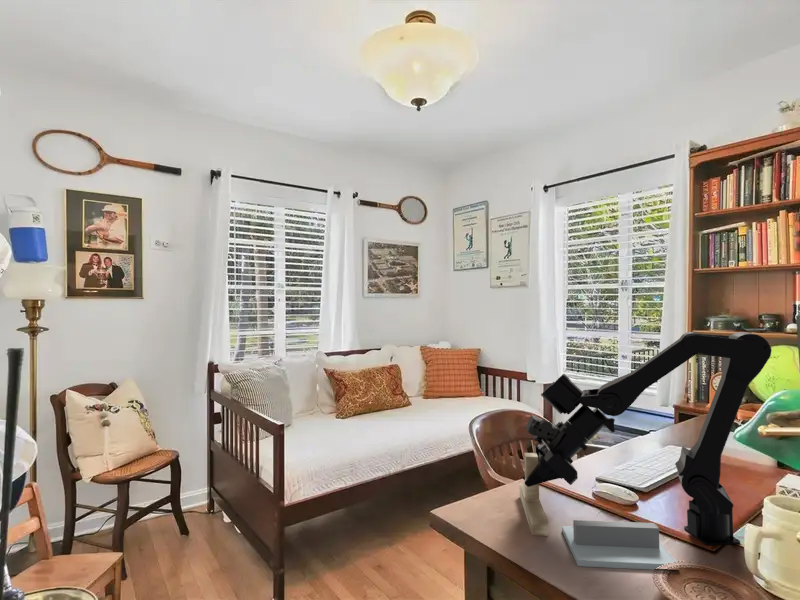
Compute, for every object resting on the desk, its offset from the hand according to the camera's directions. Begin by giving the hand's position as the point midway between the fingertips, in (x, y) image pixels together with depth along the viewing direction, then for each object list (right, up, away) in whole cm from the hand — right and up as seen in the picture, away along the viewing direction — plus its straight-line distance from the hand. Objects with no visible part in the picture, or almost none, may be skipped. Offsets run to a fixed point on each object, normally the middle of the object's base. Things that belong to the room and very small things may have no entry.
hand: (525, 482), depth 97 cm
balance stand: (+12, -6, -15) cm, 20 cm away
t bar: (+2, -7, 0) cm, 7 cm away
